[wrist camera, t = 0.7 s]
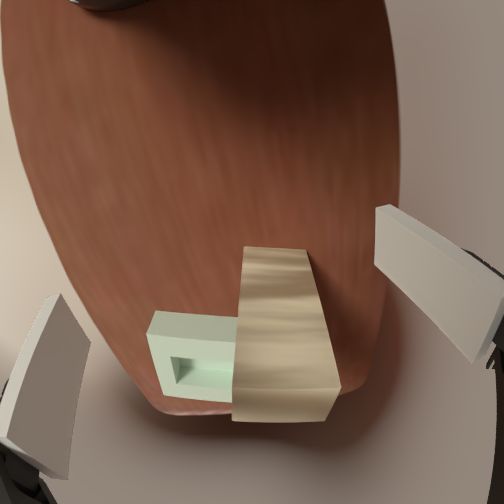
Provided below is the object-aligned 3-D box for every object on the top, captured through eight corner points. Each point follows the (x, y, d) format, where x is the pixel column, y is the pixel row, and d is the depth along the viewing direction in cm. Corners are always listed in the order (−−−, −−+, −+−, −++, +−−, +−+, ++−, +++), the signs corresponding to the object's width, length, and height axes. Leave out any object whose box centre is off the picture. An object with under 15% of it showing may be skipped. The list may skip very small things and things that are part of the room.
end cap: (156, 310, 33) (146, 333, 29) (258, 318, 33) (258, 343, 29) (169, 373, 38) (163, 395, 35) (253, 380, 39) (252, 403, 35)
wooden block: (244, 246, 28) (231, 387, 14) (305, 249, 28) (341, 387, 14) (242, 280, 30) (232, 420, 16) (300, 283, 30) (324, 420, 16)
